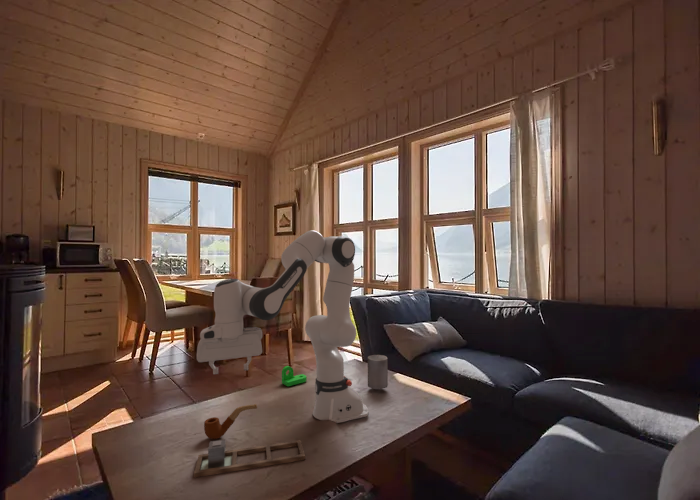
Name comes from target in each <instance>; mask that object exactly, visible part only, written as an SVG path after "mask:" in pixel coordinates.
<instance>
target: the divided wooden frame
mask: <svg viewBox="0 0 700 500" xmlns="http://www.w3.org/2000/svg"><path fill="white" fill-rule="evenodd" d="M302 443H303V442H302V440H301V439H299V440H294V441H293V440H292V441H286V442H279V443H271V444H265V445H258V446H257V445H256V446H251V447H245V448H237V449H231V450H225V466H223V467H217V468H210V469H208V453H205V454H199V455H198V456H197V460H196V463H195V468H194V472H193V478H200V477H206V476H212V475H219V474H220V475H221V474H225V473H231V472H232V473H233V472H238V471H243V470H248V469H256V468H262V467H269V466H274V465H281V464H285V463H286V464H287V463H293V462H299V461H304V460H306V454H305V451H304V447H303V444H302ZM295 447H297V449H298V452H299V454H295V455H289V456H283V457H282V456H281V457H277V458H276V457H275V458H272V456H271V455H272V454H271V451H273V450H280V449H287V448H295ZM261 452H265V456H266V459H263V460H257V461H250V462H243V463H237V459H238V458H237V457H238V455H239V456H240V455H246V454H253V453H261Z"/></svg>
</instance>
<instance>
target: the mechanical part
mask: <svg viewBox="0 0 700 500" xmlns="http://www.w3.org/2000/svg"><path fill="white" fill-rule="evenodd" d="M287 372H288V373H287ZM307 379H308V378H307V375H306V374H303V373H302V374H301V373H300V374H297V375H294V368H293V367H292V366H289V365H286V366H284V367H283V368H282V370H281V384H283V385H284V386H286V387H292V386H294V385H295V386H296V385H300V384H303V383H306V382H307Z"/></svg>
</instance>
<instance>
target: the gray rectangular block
mask: <svg viewBox="0 0 700 500" xmlns="http://www.w3.org/2000/svg"><path fill="white" fill-rule="evenodd" d="M207 449H208V450H207V452H208V453H207V454H208V469H210V468H217V467H223V466H225V451H226V439H219V440H218V439H217V440H211V441H209V444H208V448H207Z"/></svg>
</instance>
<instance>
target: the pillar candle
mask: <svg viewBox="0 0 700 500" xmlns="http://www.w3.org/2000/svg"><path fill="white" fill-rule="evenodd" d="M388 373H389V370H388V357H387V356H386V355H383V354H373V355H371V354H370V355H368V356H367V387H368V388H370V389H373V390H384V389H386V388H388V386H389V384H388V383H389V382H388V379H389V378H388V375H389V374H388Z"/></svg>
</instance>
